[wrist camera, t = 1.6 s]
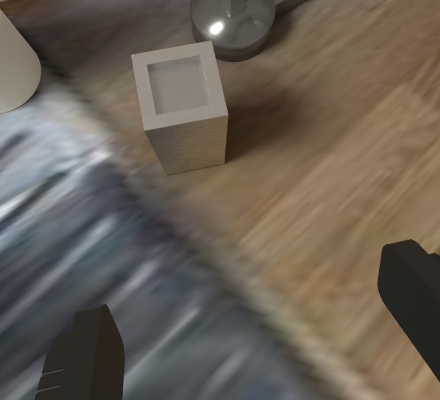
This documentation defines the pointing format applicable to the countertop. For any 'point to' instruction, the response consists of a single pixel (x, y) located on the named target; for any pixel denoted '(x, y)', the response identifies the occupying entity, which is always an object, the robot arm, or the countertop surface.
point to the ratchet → (236, 25)
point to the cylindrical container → (16, 67)
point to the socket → (182, 106)
